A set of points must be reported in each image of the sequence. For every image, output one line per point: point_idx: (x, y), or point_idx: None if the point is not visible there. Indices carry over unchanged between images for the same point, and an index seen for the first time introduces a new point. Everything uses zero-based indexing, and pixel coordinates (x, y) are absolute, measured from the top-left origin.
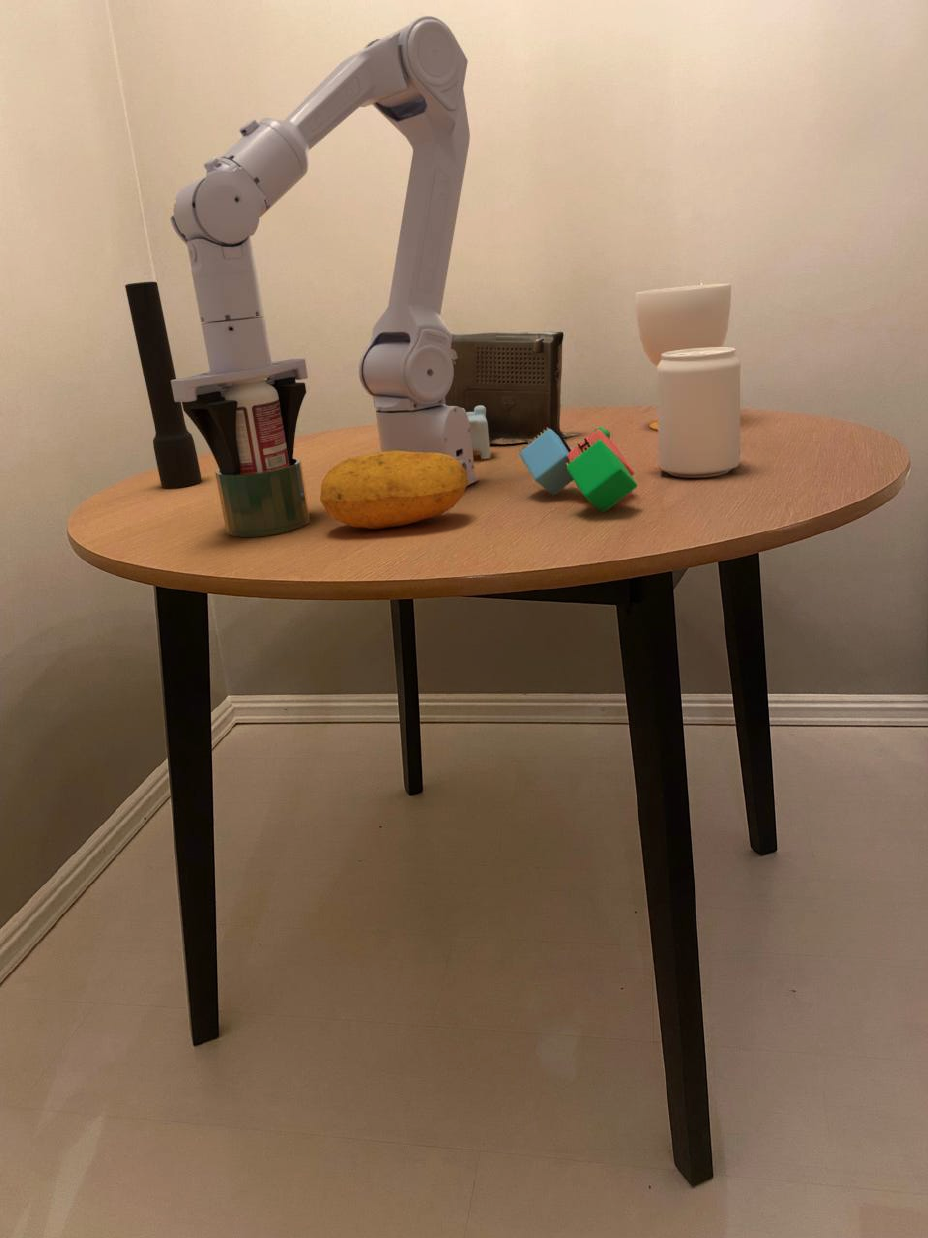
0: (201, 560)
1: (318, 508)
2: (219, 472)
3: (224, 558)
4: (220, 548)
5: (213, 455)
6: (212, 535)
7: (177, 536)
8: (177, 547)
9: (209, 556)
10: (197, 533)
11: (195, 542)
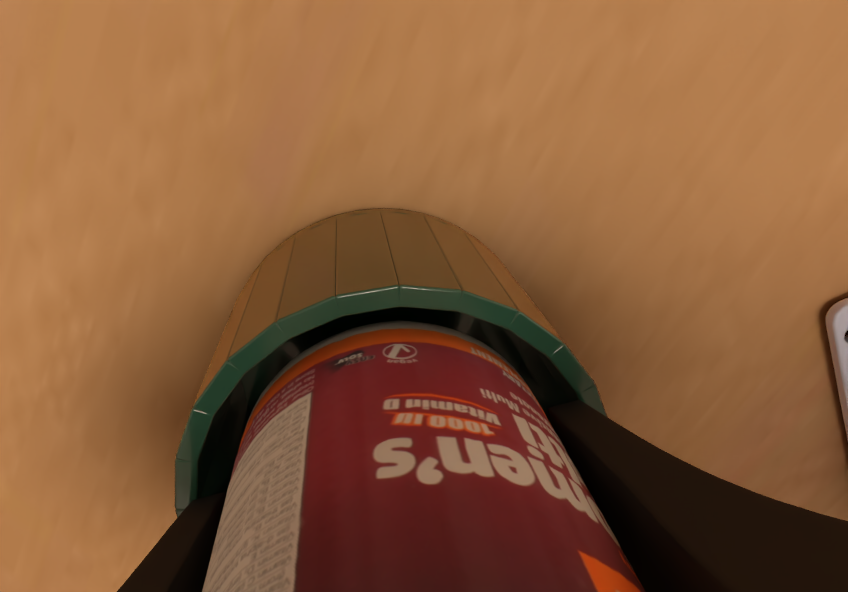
0: (45, 549)
1: (628, 284)
2: (198, 457)
3: (111, 582)
4: (140, 476)
5: (142, 562)
6: (180, 292)
7: (61, 171)
8: (18, 338)
9: (80, 530)
10: (144, 205)
11: (95, 331)
